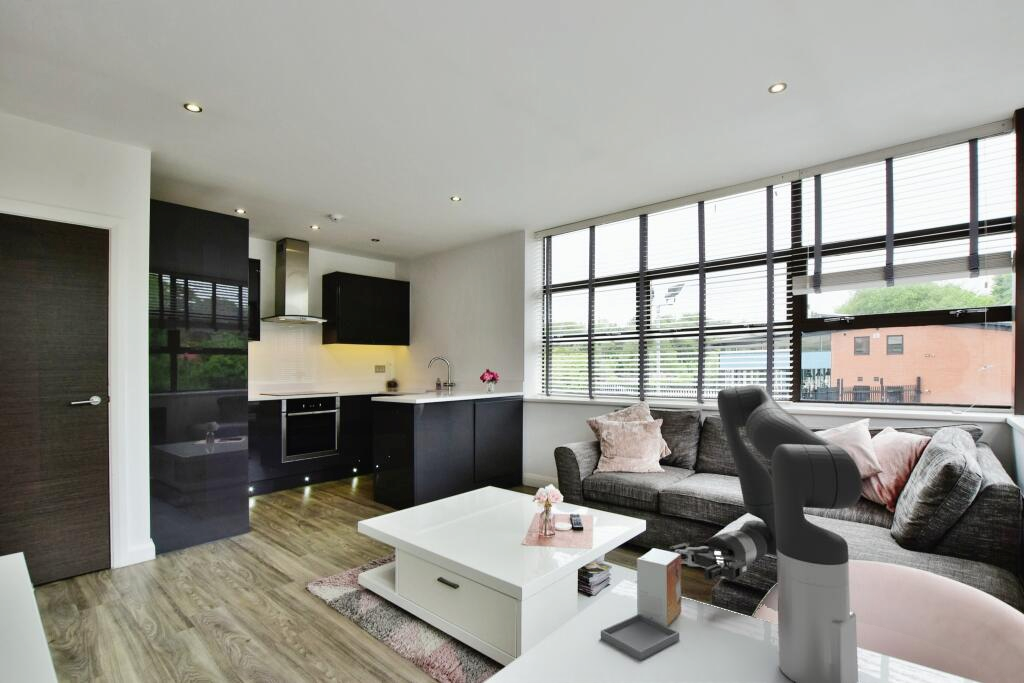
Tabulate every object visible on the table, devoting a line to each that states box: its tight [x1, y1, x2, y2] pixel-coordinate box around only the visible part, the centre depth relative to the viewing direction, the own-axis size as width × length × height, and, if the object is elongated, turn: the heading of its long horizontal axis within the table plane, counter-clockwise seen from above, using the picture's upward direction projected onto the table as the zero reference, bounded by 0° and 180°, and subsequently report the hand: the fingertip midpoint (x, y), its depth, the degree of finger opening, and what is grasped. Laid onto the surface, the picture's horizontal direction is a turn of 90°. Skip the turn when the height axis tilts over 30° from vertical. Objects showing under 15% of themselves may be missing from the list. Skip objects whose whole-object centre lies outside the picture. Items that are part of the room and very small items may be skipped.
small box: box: [636, 547, 682, 627], centre depth 92 cm, size 8×6×10 cm
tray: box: [600, 614, 680, 661], centre depth 83 cm, size 8×10×1 cm
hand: (686, 568), depth 97 cm, fingers open, 8 cm apart
